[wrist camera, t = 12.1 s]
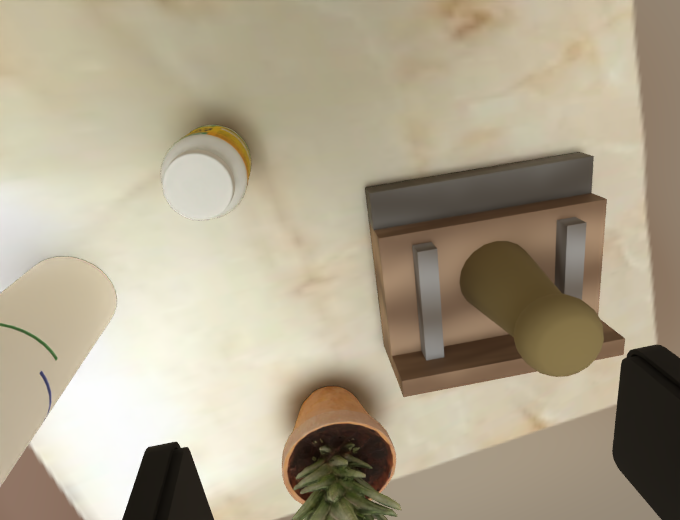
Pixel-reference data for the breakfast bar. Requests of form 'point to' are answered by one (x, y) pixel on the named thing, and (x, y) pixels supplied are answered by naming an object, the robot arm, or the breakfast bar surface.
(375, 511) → the potted plant
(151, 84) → the breakfast bar surface
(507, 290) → the olive rounded upright piece
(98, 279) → the cylindrical container
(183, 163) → the supplement bottle
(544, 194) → the loading dock
